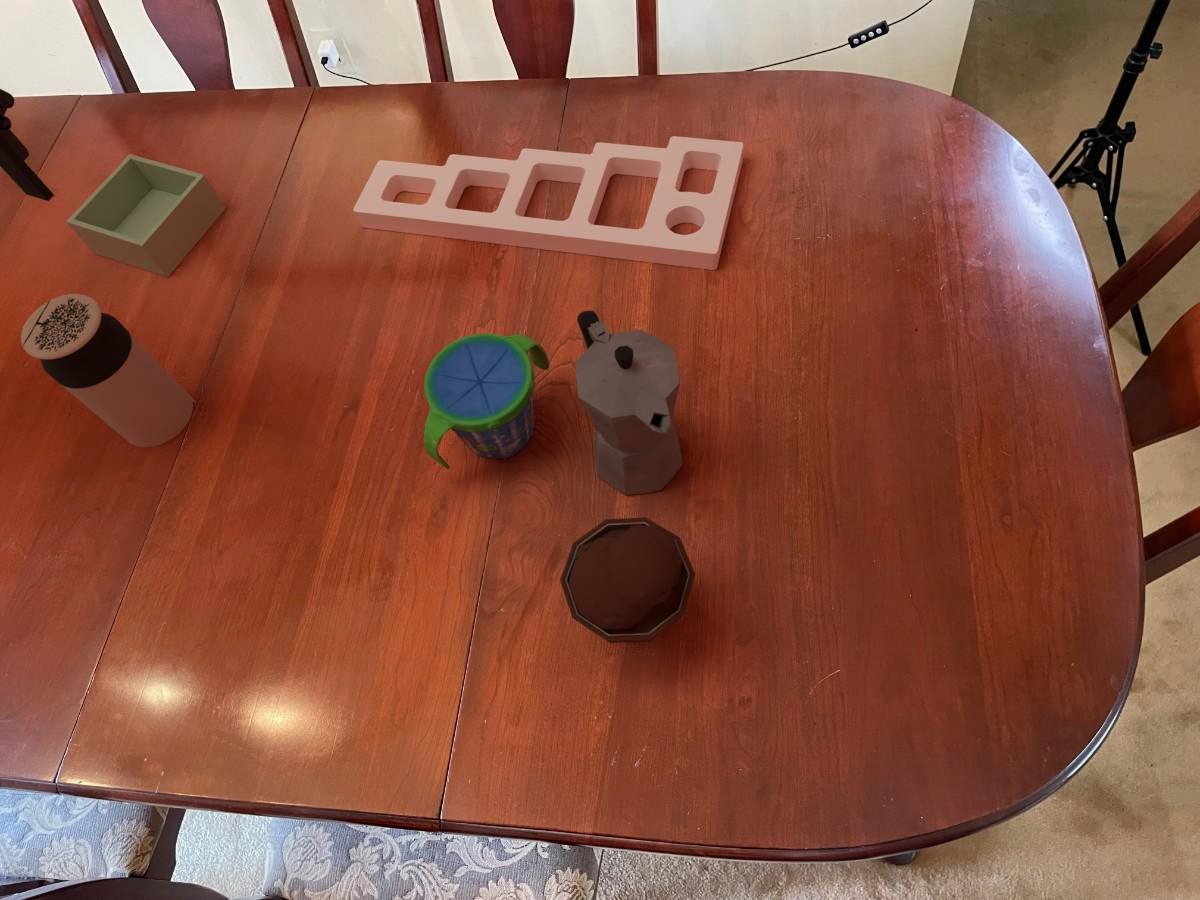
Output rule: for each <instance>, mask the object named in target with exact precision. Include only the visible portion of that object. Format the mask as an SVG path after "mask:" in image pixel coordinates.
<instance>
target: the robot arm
mask: <svg viewBox="0 0 1200 900" xmlns="http://www.w3.org/2000/svg"><path fill="white" fill-rule="evenodd" d="M14 105H15V98H14V96H13V94H11V93H9V92H8V91H6V90H4V89H2V88H0V168H1V169H2V170H3V171H4V172H5V173H6V174H7V175H8V177H9V178H10V179H11V180H12V181H13V182H14V183H15V184H16V185H17V186H18V188H20V190H22V192H23V193H24V194H25V195H27V196H29V197H33V198H36V199H40V200H44V201H47V202H50V200H52V199H53V198H54V197H55V194H54V193H53V192H52V191H51V189H50V188H49V187H48V186H47V185H46V183H44V182H43V180H42V179H41V178H40V177H39V176H38V175H37V174H36V173H35V171H34V170H33V169H32V168H31V167H30V166H29V165H28V163H27V162H26V160H27V158H29V156H30V153H29V150H28V148H27V147H26V145H24V144H23V143H22V141H21V140H20V139H19V138H18V136H17V135H16V134H15V133H14V132H13V131H12V130H11V129H12V127H13V126H12V120H11V119H10V118H9V117H8V116H6V113H7V111H8V109H12V108H13V107H14Z"/></svg>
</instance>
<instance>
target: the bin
mask: <svg viewBox="0 0 1200 900" xmlns="http://www.w3.org/2000/svg"><path fill="white" fill-rule="evenodd" d="M226 209H227V207H226V205H225V204H224V202H223V200H222V199H221V198H220V196H219V195H218V193H217V192H216V190H215V189H214V187H213V186H212V184H211V183H210V181H209V180H208V178H207V176H206V175H205V174H203V173H200V172H196V171H193V170H189V169H185V168H181V167H178V166H174V165H170V164H167V163H165V162H160V161H157V160H154V159H149V158H146V157H142V156H138V155H135V154H132V153H129V154H128V155H127V156H126V157H125V158H124V160H122V162H121V163H119V165H118V166H117V167H116V168H114V170H113V171H112V172H111V173H110V174H109V175H108V176H107V177H106V178H105V179H104V180H103V182H101V184H100V185H98V187H97V188H96V189H95V190H94V191H93V192H92V194H90V195H89V196H88V198H86V200H85V201H84V202H83V203H82V204H81V205H80V206H79V207H78V208H77V210H76V211H74V212H73V214H71V215H70V217H69V218H68V219H67V220H66V224H68V226H69V227H70V228H71V229H72V230H73V231H74V233H76V235H77V236H78V237H79V239H81V240H82V241H83V242H84V243H85V245H86V246H87V247H88V248H89V249H90V250H91V251H92V252H93V254H95V255H99V256H101V257H105V258H107V259H111V260H114V261H116V262H120V263H123V264H125V265H129V266H131V267H135V268H138V269H142V270H144V271H147V272H149V273H153V274H156V275H158V276H159V275H160V276H162V277H165V278H169V277H170V276H171V275H172V274H173V272H174V271H175V270H176V269H177V268H178V266H179V265H180V264H181V263H182V262H183V260H185V258H186V257H187V255H188V254H189V253H190V252H191V251H192V249H193V248H195V246H196V245H197V244H198V243H199V242H200V240H201V239H202V238H203V236H205V234H206V233H207V232H208V231H209V230H210V228H211V227H212V226H213V225H214V223H216V221H217V220H218V219H219V217H221V215H222V214H223V213H224V212H225V210H226Z"/></svg>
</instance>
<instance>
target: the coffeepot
mask: <svg viewBox="0 0 1200 900" xmlns="http://www.w3.org/2000/svg"><path fill="white" fill-rule="evenodd" d="M576 321H577V323H578V326H579V329H580V332H581V334H582V337H583V339H584V342H585V346H586V350H585V351H584V352H583V353H582V355H580V357H578V358H577V360H575V362H574V369H575V377H576V388H577V398H578V399H579V401H580V403H581V405H582V407H583V408H584V411H585V412H586V414H587V416H588V418H589V420H590V422H591V423H592V425H593V427H594V429H595V434H594V435H595V436H594V445H593V446H594V455H595V465H596V475H597V477H598V478H599V479H601V480H602V481H604V482H605V483H606V484H608V485H609V486H610V487H611V488H613V489H615V490H616V491H619V492H620V493H622V494H623V495H625V496H630V495H631V496H632V495H645V494H649V493H654V492H659V491H662V490H663V489H664V488H665V487H666V485H668V484H669V482H670V481H672V479H673V478H674V477H675V476H676V473H677V472H678V471H679V470H680V469H681V468H682V467H683V465H684V464H683V463H684V462H683V456H682V452H681V446H680V445H681V444H680V439H679V434H678V431H677V429H676V426H675V423H674V421H673V417H674V411H675V407H676V403H677V398H678V394H679V390H680V386H681V385H680V384H681V382H680V381H681V380H680V376H679V370H678V365H677V358H676V353H675V352H676V351H675V348H674V347H673V346H670V345H669V344H667V343H665V342H664V341H662V340H660V339H658V338H657V337H655V336H653V335H652V334H650V333H648V332H646V331H645V330H644V329H635V330H628V331H627V330H626V331H620V332H614V333H611V332H610V330H609V329H608V327H607V326H606V324H605V323H604V322H603V320H602V321H600V319H599V316H598V314H597V313H596V312H595V311H594V310H583V311H581V312H580V313H578V315H577V319H576Z"/></svg>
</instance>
